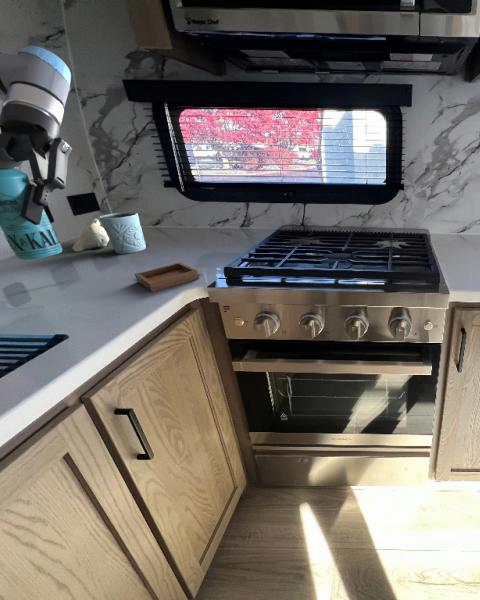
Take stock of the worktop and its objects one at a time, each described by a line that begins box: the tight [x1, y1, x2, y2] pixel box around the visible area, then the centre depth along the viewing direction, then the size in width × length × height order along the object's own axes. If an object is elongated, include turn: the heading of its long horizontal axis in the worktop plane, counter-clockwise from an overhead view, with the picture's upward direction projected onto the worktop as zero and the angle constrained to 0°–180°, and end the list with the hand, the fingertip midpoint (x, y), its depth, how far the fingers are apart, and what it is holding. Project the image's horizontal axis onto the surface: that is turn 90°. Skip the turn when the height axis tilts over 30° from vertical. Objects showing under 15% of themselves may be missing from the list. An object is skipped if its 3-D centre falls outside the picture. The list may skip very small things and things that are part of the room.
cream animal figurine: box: [71, 218, 110, 253], centre depth 118 cm, size 15×7×15 cm
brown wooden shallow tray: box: [134, 262, 200, 293], centre depth 88 cm, size 11×11×2 cm
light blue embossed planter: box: [99, 211, 147, 255], centre depth 112 cm, size 10×10×12 cm
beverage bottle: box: [0, 148, 63, 260], centre depth 59 cm, size 6×7×20 cm
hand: (5, 221), depth 56 cm, fingers closed on beverage bottle, 7 cm apart
